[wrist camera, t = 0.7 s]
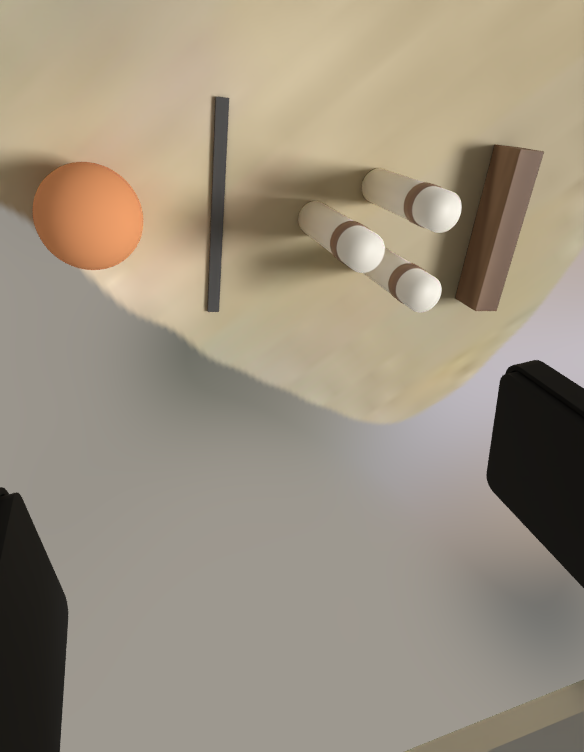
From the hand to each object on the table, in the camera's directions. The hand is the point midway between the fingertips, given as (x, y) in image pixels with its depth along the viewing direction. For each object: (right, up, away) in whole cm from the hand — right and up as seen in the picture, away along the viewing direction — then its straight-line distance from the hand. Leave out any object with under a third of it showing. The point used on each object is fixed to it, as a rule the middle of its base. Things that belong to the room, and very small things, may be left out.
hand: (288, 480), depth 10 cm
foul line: (-5, +13, +26) cm, 29 cm away
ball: (-12, +11, +21) cm, 26 cm away
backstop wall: (+15, +14, +32) cm, 39 cm away
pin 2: (+6, +11, +30) cm, 33 cm away
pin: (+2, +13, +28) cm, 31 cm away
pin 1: (+6, +16, +28) cm, 33 cm away
